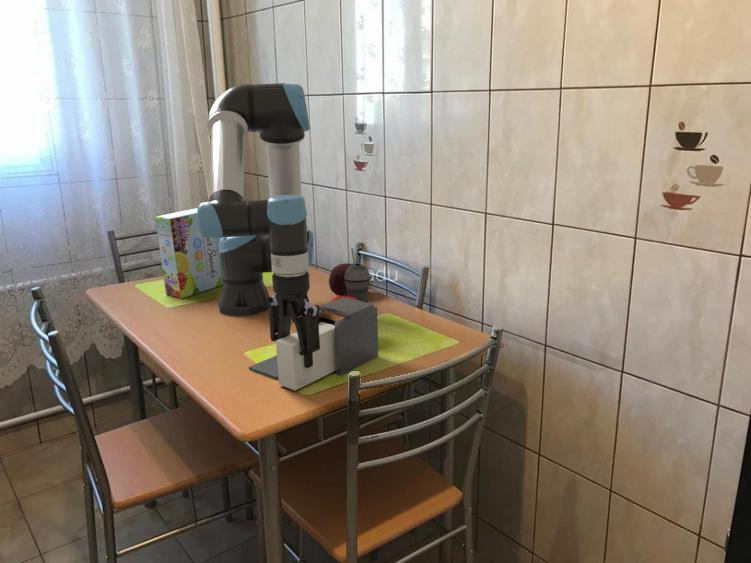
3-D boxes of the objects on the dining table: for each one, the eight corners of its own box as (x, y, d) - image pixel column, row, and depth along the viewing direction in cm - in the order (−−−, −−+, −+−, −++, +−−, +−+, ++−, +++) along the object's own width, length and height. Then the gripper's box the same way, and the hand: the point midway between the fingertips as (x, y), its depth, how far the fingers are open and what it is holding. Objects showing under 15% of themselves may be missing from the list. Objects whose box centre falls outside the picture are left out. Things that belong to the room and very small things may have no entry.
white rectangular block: (278, 384, 133) (275, 340, 131) (324, 362, 144) (322, 321, 141) (295, 390, 130) (292, 345, 128) (340, 368, 141) (338, 326, 138)
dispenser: (311, 365, 144) (308, 310, 140) (349, 347, 154) (347, 295, 150) (340, 375, 138) (338, 318, 134) (378, 356, 148) (377, 303, 144)
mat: (249, 369, 142) (248, 366, 142) (299, 347, 154) (299, 345, 154) (275, 379, 137) (275, 377, 137) (326, 356, 149) (326, 354, 149)
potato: (376, 295, 194) (375, 263, 191) (339, 304, 186) (338, 270, 184) (357, 287, 202) (356, 256, 199) (321, 295, 195) (320, 263, 192)
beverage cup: (368, 323, 170) (366, 251, 165) (342, 321, 172) (339, 251, 166) (373, 314, 177) (372, 245, 171) (348, 313, 178) (346, 244, 173)
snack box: (216, 278, 216) (209, 204, 209) (233, 282, 211) (227, 206, 204) (163, 294, 199) (153, 215, 192) (180, 299, 194) (171, 217, 187)
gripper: (247, 269, 130) (255, 372, 137) (309, 283, 119) (314, 394, 126) (274, 262, 136) (280, 361, 142) (335, 274, 125) (339, 381, 131)
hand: (296, 376), depth 134 cm, fingers closed on white rectangular block, 5 cm apart
